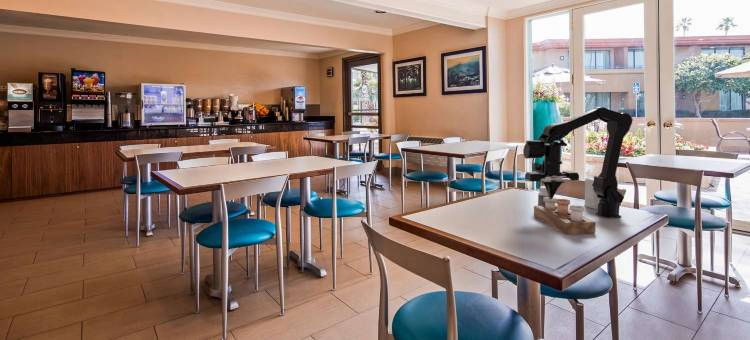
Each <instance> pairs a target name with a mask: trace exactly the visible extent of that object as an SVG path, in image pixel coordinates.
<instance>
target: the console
mask: <svg viewBox="0 0 750 340" xmlns="http://www.w3.org/2000/svg"><path fill="white" fill-rule="evenodd" d="M533 206H534V208H533V217H535V218H537V219H538V220H540V221H543V222H544V223H546V224H547V225H549V226H551V227H553V228H554V229H556V230H557V231H558V232H560V233H562V234H564V235H591V234H593V235H594V234H596V225H597V224H596V223H597V222H596V221H594V220H592V219H590V218H588V217H586V216H584V215H583V216H582V222H571V221H570V220H571V210H570V209H569V208H568V215H558V214H557V204H556V205H555V209H546V208H545V206H538V205H533Z"/></svg>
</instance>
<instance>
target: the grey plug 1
mask: <svg viewBox="0 0 750 340" xmlns="http://www.w3.org/2000/svg"><path fill="white" fill-rule="evenodd" d="M557 199H558V198H557V197H555V196H553V198H552V199H550V198H549V197H545V198H544V201H545V208H546V209H555V205H557V204H556V200H557Z"/></svg>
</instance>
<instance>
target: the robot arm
mask: <svg viewBox="0 0 750 340" xmlns="http://www.w3.org/2000/svg"><path fill="white" fill-rule="evenodd" d="M597 120H600V121H601V122H602V123H603V122H604V123H606V130H607V134H608V140H607V144H606V149H605V153H604V157H603V163H602V167H601V168H602V169H601V171H600V174H599V175H598V176H597V175H595V176H594V177H593V178H594V182H593V184H592V186H593V190H594V192H595V193H596V194H597V197H598V198H600V199H599V203H598V209H597V212H595V214H596V215H598V216H600V217H603V218H609V219H610V218H622V215H620V205H621V204H620V203H622V202H623V201H624V197H625V196H623V194H621V193H620V191H619V190H618V186H619V183H618V179H617V176H616V174H617V169H618V165H619V162H620V155H621V151H622V146H623V141H624V138H625V137H626V135H627V134H628V132H629V131H630V130H631V126H632V124H633V120H634V119H633V117H632V115H631V114H629V113H627V112H619V111H615V110H612V109H609V108H606V107H605V106H596V107H593V109H590V110H588V111H586V112H583V113H581V114H578V115H577V116H574V117H572V118H569V119H567V120H563V121H560V122H554V123H550V124H547V125H546V126H544V129H543V131H542V133H541V135H540V136H539V137H538V138H537V140H526V141H525V144H524V146H523V151H522V152H523V156H524V159H542V158H543V157H544V159H543V160H542V163H540V162H533V164H532V171H527V172H526V173H525V174H524V180H526V181H529V182H540V183H542V184H543V186H545V187H546V190H547V193H548V196H549V198H550V199H552V198H553V197H555V195H556V193H557V191H558V189H559V188H560V187H561V185H562V184H564V183H565V181H564V180H563V179H569V180H570V181H579V180H580V174H579V172H577V171H574V170H563V171H561V165H563V161H562V159H561V158H562V147H567V146H568V144H567V143H566V142H565V141H564V140H563V139H564V138H565V137H567V136H568V135H569V134H570V133H571V132H572V131H574V130H576V129H579V128H581V127H583V126H587V125H588V124H590V123H593V122H595V121H597Z"/></svg>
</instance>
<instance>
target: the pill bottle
mask: <svg viewBox="0 0 750 340" xmlns="http://www.w3.org/2000/svg"><path fill="white" fill-rule="evenodd" d="M539 190H540V191H539V192H538V193H537V194H538V195H537V206H545V201H544V198H545V197H549V196H548V193H547V190H546V187H545V185H541V186H540V187H539Z"/></svg>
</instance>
